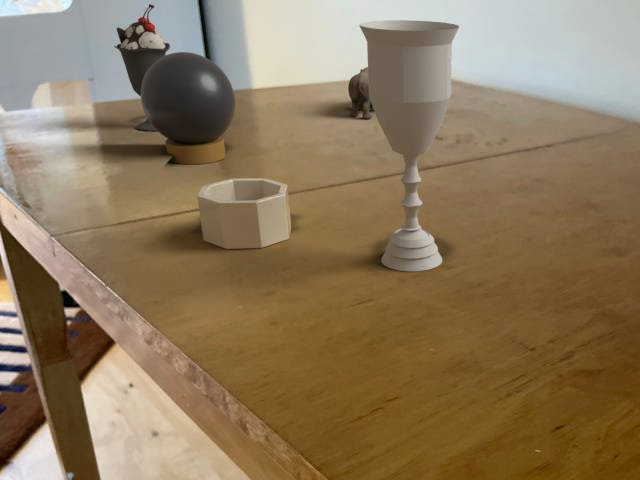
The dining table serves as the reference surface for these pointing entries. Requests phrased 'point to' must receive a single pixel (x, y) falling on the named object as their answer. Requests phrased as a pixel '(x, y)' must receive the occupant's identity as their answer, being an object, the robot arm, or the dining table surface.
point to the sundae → (140, 53)
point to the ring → (244, 213)
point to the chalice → (410, 115)
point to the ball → (189, 106)
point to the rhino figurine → (360, 94)
